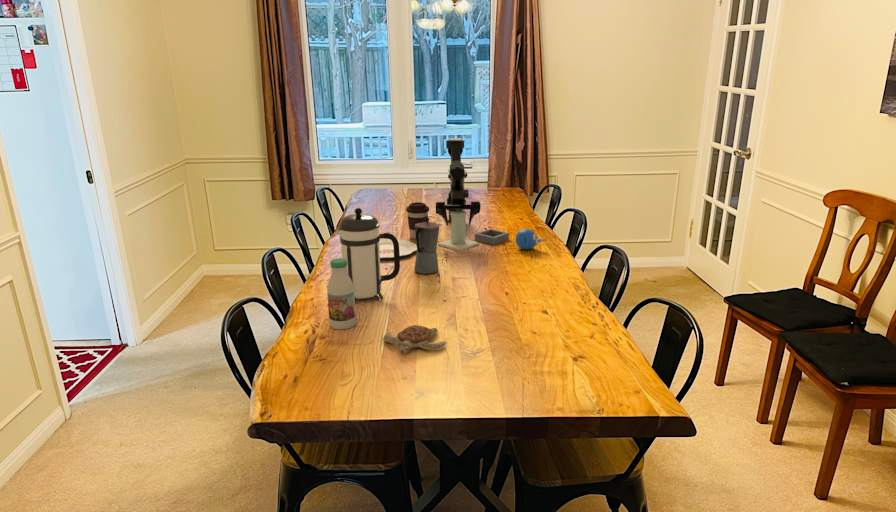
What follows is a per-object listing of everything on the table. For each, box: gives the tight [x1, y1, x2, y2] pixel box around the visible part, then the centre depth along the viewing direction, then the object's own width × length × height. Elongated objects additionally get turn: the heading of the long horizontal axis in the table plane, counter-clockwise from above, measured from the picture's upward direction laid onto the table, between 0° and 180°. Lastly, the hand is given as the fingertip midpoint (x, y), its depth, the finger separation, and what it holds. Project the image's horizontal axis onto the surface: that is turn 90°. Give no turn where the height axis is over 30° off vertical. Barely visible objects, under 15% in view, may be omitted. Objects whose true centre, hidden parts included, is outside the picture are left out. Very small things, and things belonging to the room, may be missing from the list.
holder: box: [474, 228, 510, 246], centre depth 250 cm, size 10×10×3 cm
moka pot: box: [414, 217, 440, 275], centre depth 211 cm, size 10×15×20 cm, turn 161°
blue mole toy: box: [515, 228, 546, 251], centre depth 237 cm, size 12×12×8 cm
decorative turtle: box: [382, 324, 448, 355], centre depth 159 cm, size 18×17×5 cm
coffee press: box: [334, 207, 401, 302], centre depth 187 cm, size 17×16×30 cm
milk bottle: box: [326, 257, 357, 330], centre depth 167 cm, size 8×8×20 cm
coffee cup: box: [405, 201, 430, 240], centre depth 253 cm, size 10×10×15 cm
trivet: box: [437, 238, 480, 252], centre depth 244 cm, size 12×12×1 cm
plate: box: [379, 238, 418, 260], centre depth 236 cm, size 25×25×2 cm
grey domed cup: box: [450, 210, 467, 245], centre depth 241 cm, size 9×7×13 cm
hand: (458, 225), depth 240 cm, fingers open, 9 cm apart
